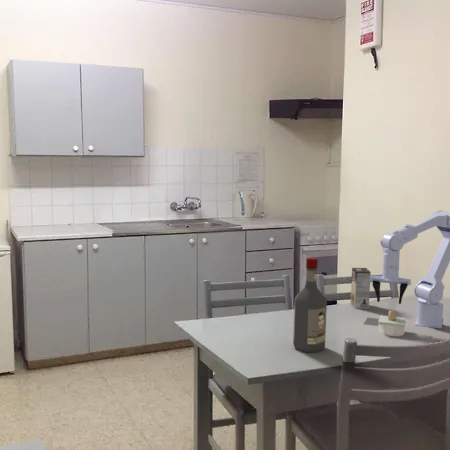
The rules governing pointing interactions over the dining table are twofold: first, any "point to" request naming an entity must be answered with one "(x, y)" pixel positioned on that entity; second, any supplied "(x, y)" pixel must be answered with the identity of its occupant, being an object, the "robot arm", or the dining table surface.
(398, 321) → the lid
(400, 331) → the bowl
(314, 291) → the liquor
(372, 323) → the mat
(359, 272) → the coffee box
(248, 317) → the dining table surface
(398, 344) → the dining table surface
